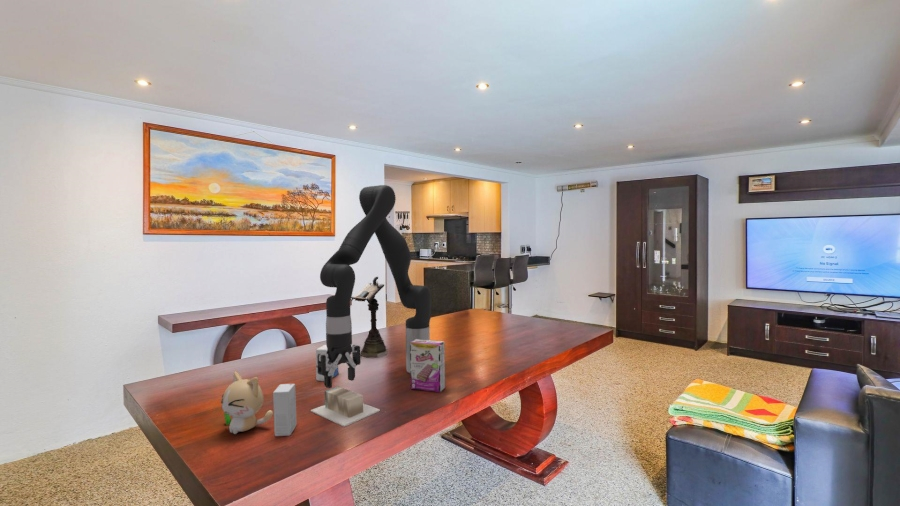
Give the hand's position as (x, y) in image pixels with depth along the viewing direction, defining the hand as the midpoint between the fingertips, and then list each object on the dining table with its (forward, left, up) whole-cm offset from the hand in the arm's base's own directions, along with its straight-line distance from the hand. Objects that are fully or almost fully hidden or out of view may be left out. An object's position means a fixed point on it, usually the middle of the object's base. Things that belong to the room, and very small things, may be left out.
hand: (340, 383), depth 125 cm
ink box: (+7, -31, -8) cm, 33 cm away
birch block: (+3, -3, -5) cm, 7 cm away
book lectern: (-9, -56, -8) cm, 57 cm away
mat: (-1, +2, -8) cm, 8 cm away
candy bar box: (-28, -11, -8) cm, 31 cm away
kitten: (+26, +7, -8) cm, 28 cm away
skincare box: (+14, +11, -8) cm, 19 cm away
